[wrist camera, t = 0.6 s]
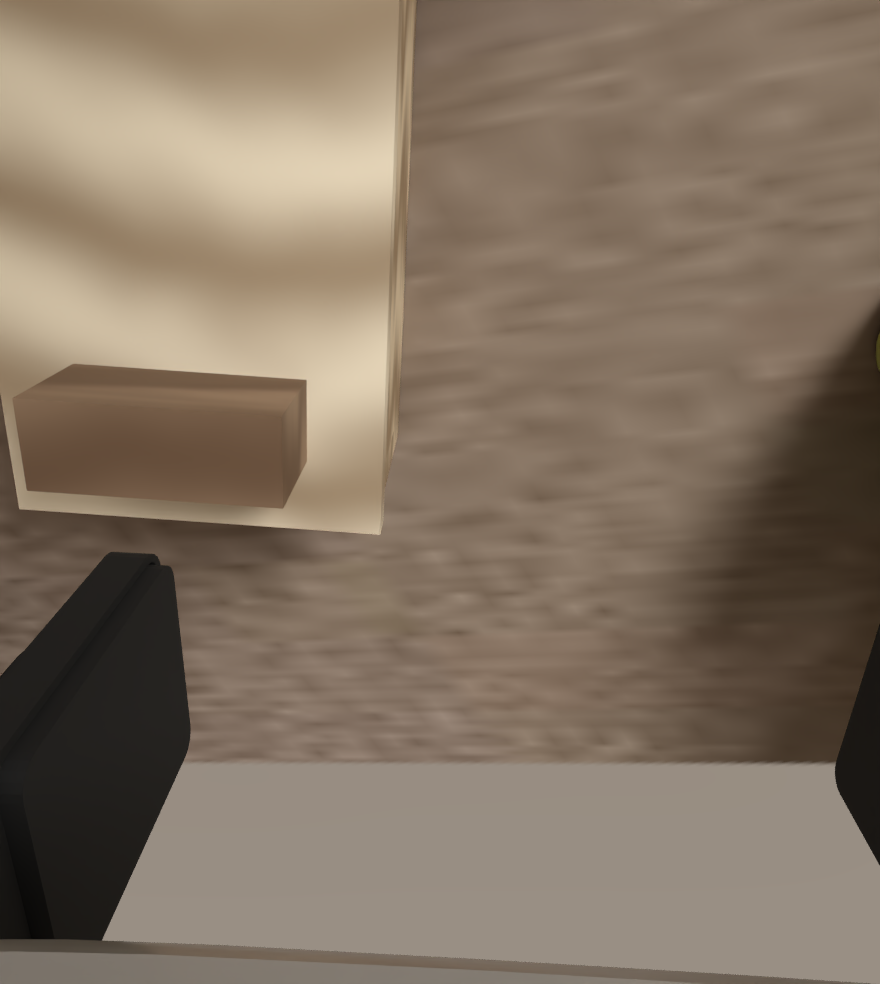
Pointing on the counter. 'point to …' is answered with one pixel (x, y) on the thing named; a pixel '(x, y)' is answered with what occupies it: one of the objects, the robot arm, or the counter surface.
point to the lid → (199, 257)
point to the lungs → (878, 352)
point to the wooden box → (400, 222)
